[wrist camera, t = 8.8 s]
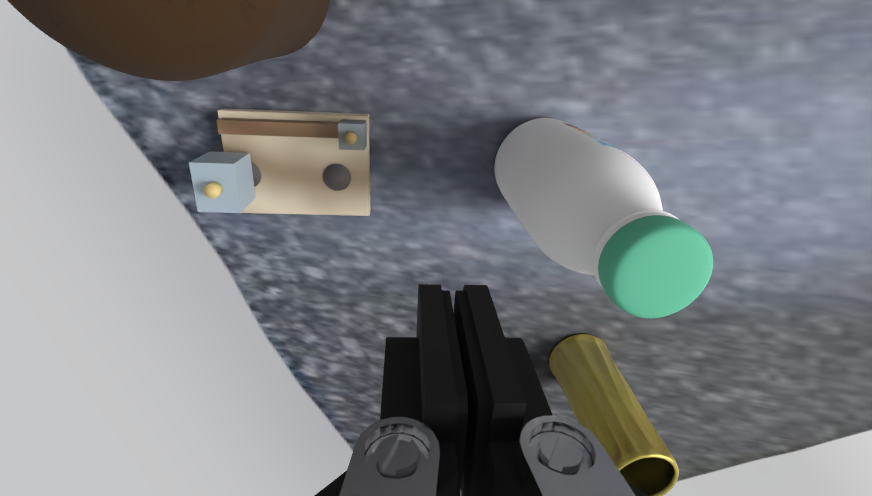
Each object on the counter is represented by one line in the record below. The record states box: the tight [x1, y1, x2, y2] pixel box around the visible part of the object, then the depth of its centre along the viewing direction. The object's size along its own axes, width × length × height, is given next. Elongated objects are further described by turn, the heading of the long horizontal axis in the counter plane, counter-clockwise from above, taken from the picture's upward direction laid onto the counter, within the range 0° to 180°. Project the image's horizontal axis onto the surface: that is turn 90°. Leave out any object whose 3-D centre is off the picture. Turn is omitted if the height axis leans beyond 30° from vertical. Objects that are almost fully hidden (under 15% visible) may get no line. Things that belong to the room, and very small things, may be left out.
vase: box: [549, 334, 679, 496], centre depth 39 cm, size 6×6×14 cm
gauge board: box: [217, 108, 371, 216], centre depth 34 cm, size 8×11×5 cm
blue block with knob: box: [189, 151, 256, 213], centre depth 33 cm, size 4×3×4 cm
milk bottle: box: [494, 118, 713, 318], centre depth 28 cm, size 8×8×20 cm
